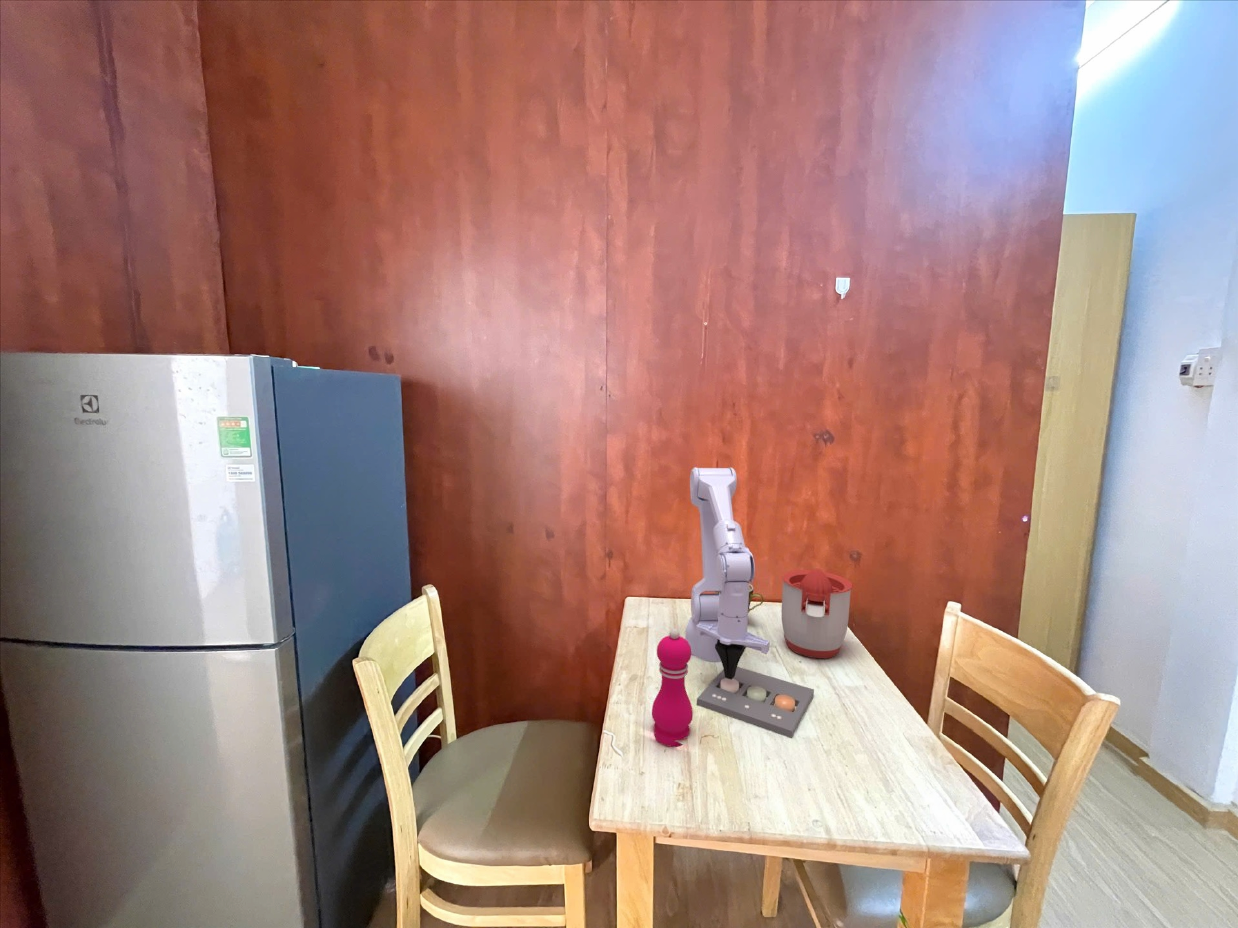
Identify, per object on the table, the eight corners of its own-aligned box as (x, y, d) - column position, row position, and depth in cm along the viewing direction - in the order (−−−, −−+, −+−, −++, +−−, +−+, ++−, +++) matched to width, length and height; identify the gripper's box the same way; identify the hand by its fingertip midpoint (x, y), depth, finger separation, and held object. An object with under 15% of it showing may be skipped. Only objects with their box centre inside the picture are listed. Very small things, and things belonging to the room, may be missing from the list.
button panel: (696, 710, 104) (696, 697, 104) (727, 674, 117) (728, 662, 117) (791, 744, 94) (792, 729, 94) (813, 701, 108) (814, 688, 107)
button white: (717, 697, 108) (717, 683, 108) (724, 689, 111) (724, 675, 111) (734, 703, 106) (735, 689, 106) (741, 695, 109) (741, 681, 109)
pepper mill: (695, 728, 99) (699, 623, 96) (687, 752, 92) (691, 641, 89) (657, 719, 101) (659, 617, 98) (646, 743, 94) (648, 634, 91)
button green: (743, 706, 105) (744, 692, 105) (750, 698, 108) (750, 684, 108) (762, 712, 103) (762, 698, 103) (767, 703, 106) (768, 689, 106)
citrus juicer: (775, 660, 124) (780, 576, 121) (780, 629, 140) (784, 554, 138) (849, 673, 119) (855, 585, 116) (845, 639, 135) (851, 562, 132)
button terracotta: (771, 716, 102) (772, 701, 102) (777, 707, 105) (778, 692, 105) (791, 722, 100) (792, 707, 100) (796, 713, 103) (797, 698, 103)
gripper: (690, 610, 107) (688, 674, 109) (762, 628, 99) (759, 697, 101) (705, 598, 113) (702, 659, 115) (774, 615, 105) (770, 680, 107)
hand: (730, 676), depth 108 cm, fingers closed
